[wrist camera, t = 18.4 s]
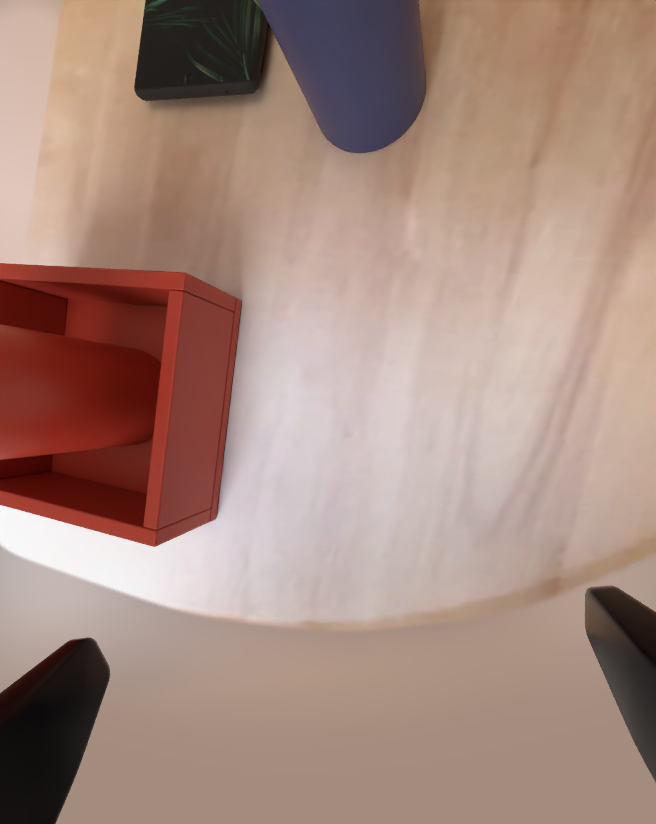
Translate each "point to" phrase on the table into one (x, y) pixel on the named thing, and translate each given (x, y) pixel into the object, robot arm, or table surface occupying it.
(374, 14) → the navy cylinder
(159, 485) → the red bin
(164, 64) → the smartphone
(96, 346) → the red cylinder
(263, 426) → the table surface
